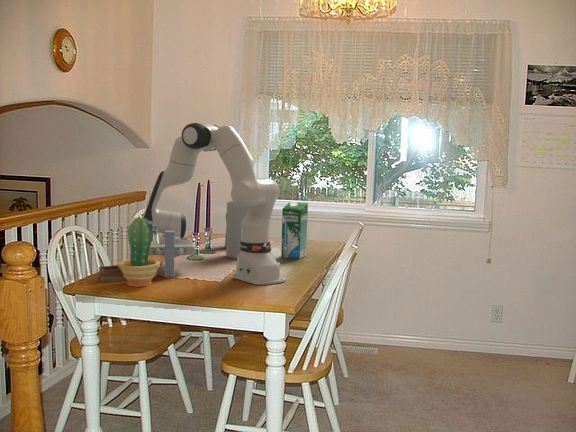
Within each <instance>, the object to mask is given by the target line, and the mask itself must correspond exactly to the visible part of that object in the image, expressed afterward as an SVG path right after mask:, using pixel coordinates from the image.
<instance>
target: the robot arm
mask: <svg viewBox="0 0 576 432" xmlns="http://www.w3.org/2000/svg"><path fill="white" fill-rule="evenodd" d="M212 151H213V152H214V151H216V152H217V153H218V155H219V157H220V158H221V160H222V163H223V164H224V167H225V169H226V170H227V172H228V174H229V177H230V181H231V187H232V188H231V192H230V198H231V201H233V202H234V204H235V205H237V206H239V207H243V208H248V210H247V213H246V215H245V217H244V218H243V220H242V231H241V241H240V250H241V252H240V254H239V255H238V257H237V259H236V265H235V266H236V268H235V273H234V274H232V279H237V280H239V281H241V282H246V283H248V284H249V283H250V284H252V285H261V286H262V285H274V284H281V283H285V282H286V281H287V279H286V278H285V277H284V276H283V275H281V273H280V272H281V271H280V269H281V263H280V262H278V261H277V260H276V258H275V256H274V254H273V253H272V245H271V241H270V223H271V217H272V214H273V210H274V206H275V203H276V202H277V200H278V198H279V197H280V193H281V192H280V191H281V190H280V186H279V184H278V183H277V181H275V180H273V179H270V178H267V177H261V178H257V176H256V173H255V170H254V166H255V160H254V158H253V156H252V154H251V153H250V151H249V149H248V147H247V145H246V144H245V142H244V141H243V138H242V137H241V136H240V134H239V133H238V132H237V130H236V129H235V128H234V127H233V126H231V125H222V126H219V125H217V124H210V123H205V122H191V123H188V124H187V125H185V126H184V127H183V128H182V131H181V136H178V137H177V138H176V139H175V141H174V144H173V146H172V149H171V152H170V157H169V163H168V165H167V167H166V169H164V170H163V171H160V173H158V174H159V175H157V178H156V181H155V183H154V186H153V189H152V192H151V193H150V197H149V200H148V203H147V206H146V209H145V210H144V212H143V214H142V217H144V219H145V218H147V220H148V221H152V222H154V224H155V226H156V228H157V230H158V233H157V234H161V236H160V238H159V241H158V243H151V245H150V249H149V255H148V256H162V257H164V258H165V231H174V258H176V257H179V256H189V255H190V256H194V255H196V245H195V244H194V242H192V241H191V239H190V238H186V237H185V235H186V231H187V219H186V216H185V214H184V213H182V212H178V211H171V210H163V209H159V208H158V205H159V202H160V200H161V197H162V194H163V192H164V190H165V189H168V188H169V187H173V186H178V185H182V184H186V183H188V182H189V181H191V180H192V179H193V177H194V175H195V173H196V167H197V160H198V156H199V154H200V153H202V152H212ZM142 217H141V218H142ZM153 233H154V231H153ZM184 237H185V238H184Z"/></svg>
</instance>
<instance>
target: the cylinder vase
mask: <svg viewBox="0 0 576 432" xmlns="http://www.w3.org/2000/svg"><path fill="white" fill-rule="evenodd" d="M247 210H248V208H243V207H239V206H237V205H235V204H234V202H233V201H232V200H231V201H230V200H229V201H227V202H226V213H227V229H226V228H225V239H226V247H225V249H226V251H225V254H226V255H225V256H226V257H227V258H230V259H236V260H237V257H238V255H239V254H240V252H241V250H240V241H241V231H242V220H243V218H244V217H245V215H246V213H247Z"/></svg>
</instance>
